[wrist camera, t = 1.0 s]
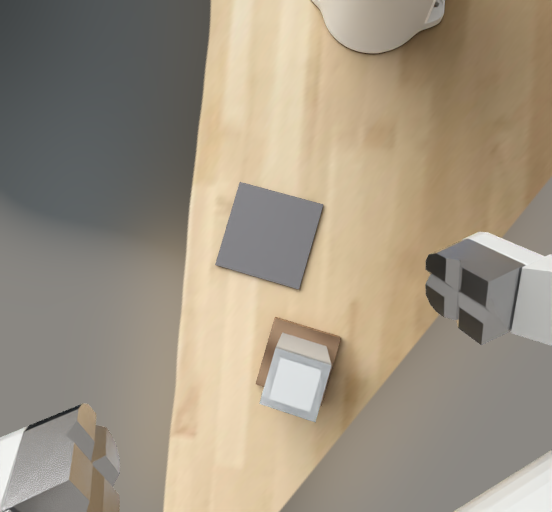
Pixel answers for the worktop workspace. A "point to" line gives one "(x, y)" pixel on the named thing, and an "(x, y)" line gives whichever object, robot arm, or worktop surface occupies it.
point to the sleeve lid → (297, 377)
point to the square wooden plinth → (300, 332)
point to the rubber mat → (269, 235)
